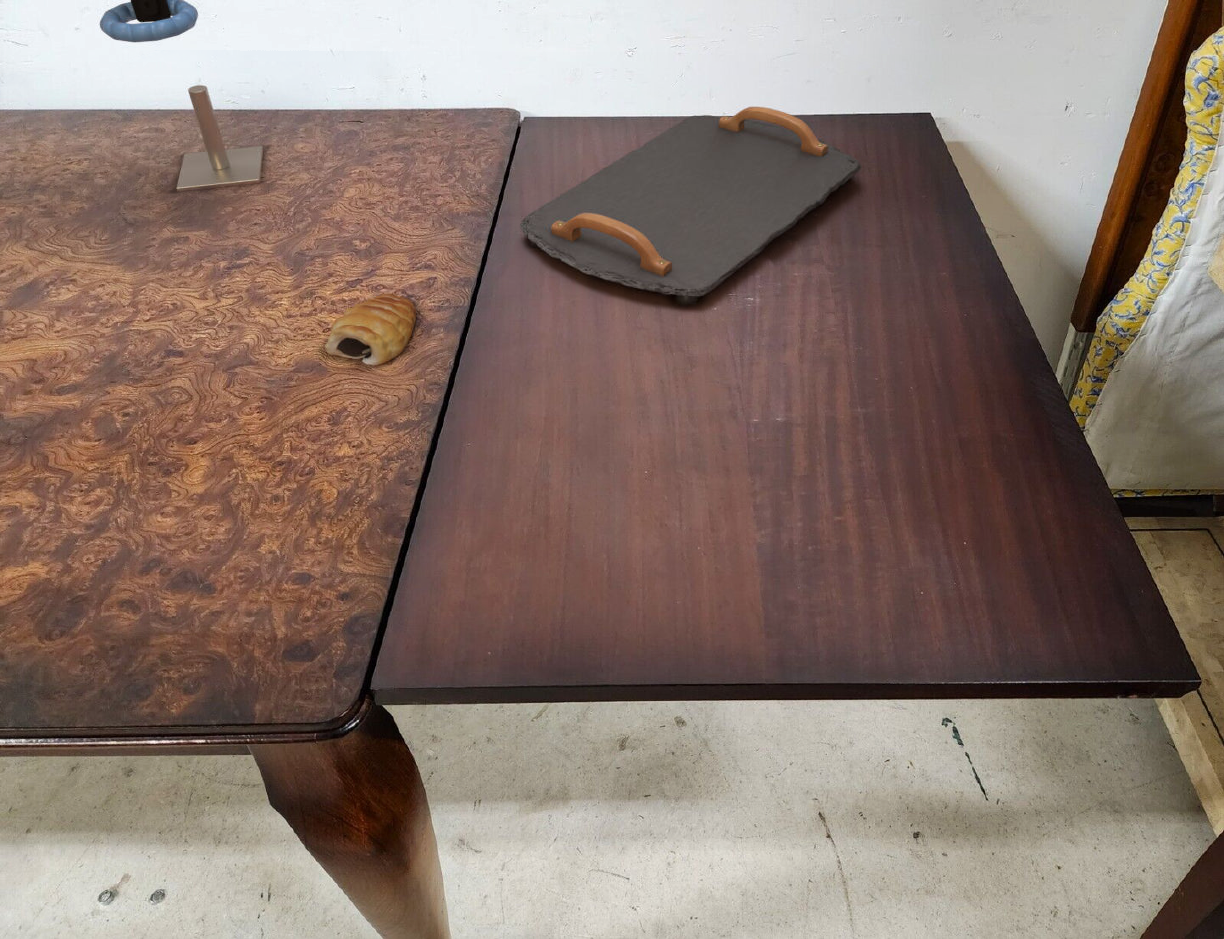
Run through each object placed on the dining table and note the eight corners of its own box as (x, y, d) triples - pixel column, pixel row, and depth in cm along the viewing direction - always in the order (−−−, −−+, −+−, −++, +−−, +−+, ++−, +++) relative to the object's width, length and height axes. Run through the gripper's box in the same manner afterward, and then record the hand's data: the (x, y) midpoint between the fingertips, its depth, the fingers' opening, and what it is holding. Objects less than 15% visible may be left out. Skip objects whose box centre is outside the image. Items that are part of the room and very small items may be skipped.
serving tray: (705, 127, 122) (708, 77, 118) (875, 177, 112) (884, 124, 107) (497, 258, 100) (491, 202, 95) (685, 336, 89) (688, 277, 85)
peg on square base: (179, 197, 110) (149, 108, 103) (187, 162, 116) (159, 76, 109) (261, 189, 111) (237, 100, 104) (265, 154, 118) (242, 69, 111)
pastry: (370, 306, 93) (363, 271, 91) (435, 317, 92) (430, 282, 89) (322, 363, 87) (313, 327, 84) (392, 376, 85) (385, 340, 83)
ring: (96, 47, 92) (89, 29, 91) (113, 16, 98) (107, -1, 97) (193, 40, 93) (188, 22, 92) (204, 9, 99) (199, -8, 98)
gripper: (61, -218, 91) (130, -7, 103) (20, -186, 79) (103, 47, 92) (145, -222, 92) (204, -12, 104) (117, -191, 80) (186, 40, 93)
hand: (156, 14), depth 98 cm, fingers closed on ring, 2 cm apart
